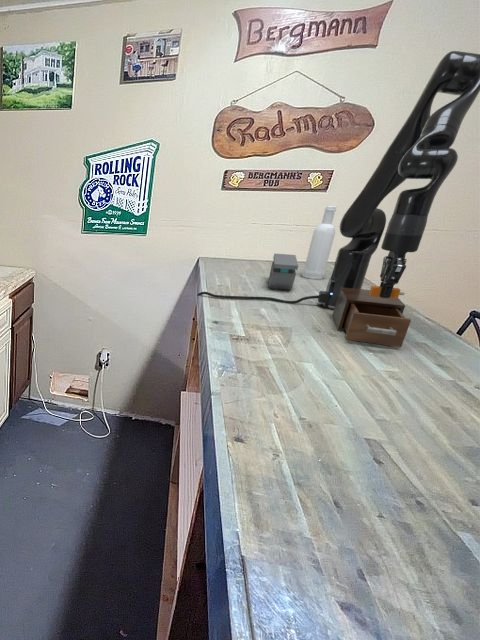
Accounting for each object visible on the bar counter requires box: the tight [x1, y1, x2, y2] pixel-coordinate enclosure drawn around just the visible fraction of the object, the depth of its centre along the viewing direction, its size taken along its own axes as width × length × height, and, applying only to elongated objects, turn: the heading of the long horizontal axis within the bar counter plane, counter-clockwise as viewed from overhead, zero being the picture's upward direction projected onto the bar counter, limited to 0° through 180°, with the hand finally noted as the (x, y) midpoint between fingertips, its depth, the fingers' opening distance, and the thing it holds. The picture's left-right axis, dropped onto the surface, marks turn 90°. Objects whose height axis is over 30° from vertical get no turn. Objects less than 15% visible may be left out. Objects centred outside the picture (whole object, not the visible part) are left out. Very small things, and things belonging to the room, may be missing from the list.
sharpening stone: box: [267, 253, 299, 291], centre depth 187 cm, size 25×8×11 cm, turn 151°
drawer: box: [343, 303, 412, 348], centre depth 129 cm, size 20×12×8 cm, turn 151°
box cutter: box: [369, 285, 406, 299], centre depth 126 cm, size 7×2×2 cm, turn 61°
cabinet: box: [332, 287, 406, 332], centre depth 140 cm, size 17×14×10 cm
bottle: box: [301, 205, 337, 280], centre depth 197 cm, size 8×8×30 cm
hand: (383, 296), depth 126 cm, fingers closed on box cutter, 2 cm apart
